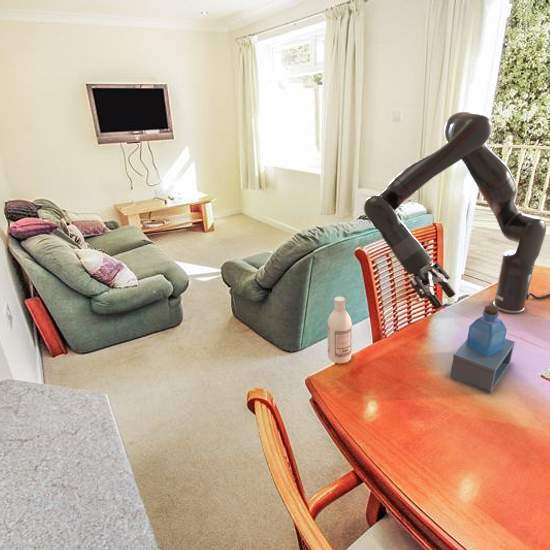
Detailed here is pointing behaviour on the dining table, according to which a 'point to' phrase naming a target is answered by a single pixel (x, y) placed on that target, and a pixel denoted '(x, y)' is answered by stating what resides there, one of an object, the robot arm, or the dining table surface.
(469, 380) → the shelf
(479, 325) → the perfume bottle
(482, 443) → the dining table surface
